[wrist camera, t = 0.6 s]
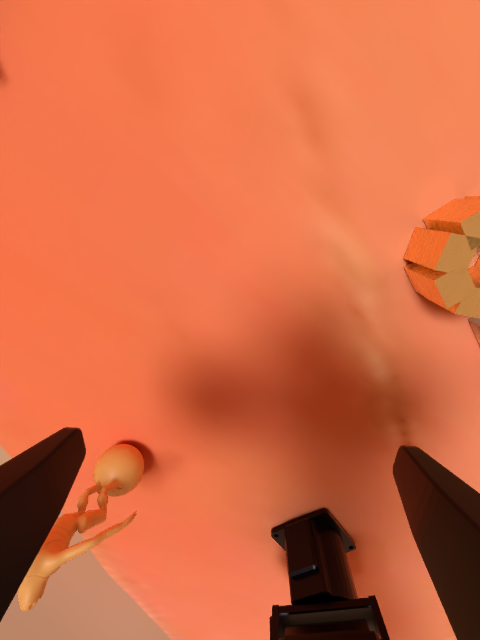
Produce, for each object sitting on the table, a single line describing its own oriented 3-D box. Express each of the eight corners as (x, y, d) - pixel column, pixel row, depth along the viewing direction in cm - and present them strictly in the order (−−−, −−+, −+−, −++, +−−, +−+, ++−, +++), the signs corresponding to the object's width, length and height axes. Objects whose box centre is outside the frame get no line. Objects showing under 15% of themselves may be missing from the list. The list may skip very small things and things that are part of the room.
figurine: (97, 472, 28) (-7, 651, 17) (68, 424, 26) (-71, 592, 15) (178, 460, 27) (125, 642, 16) (156, 408, 25) (76, 577, 14)
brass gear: (523, 265, 19) (579, 278, 16) (427, 315, 21) (460, 337, 17) (492, 175, 17) (548, 169, 14) (389, 239, 19) (418, 247, 15)
